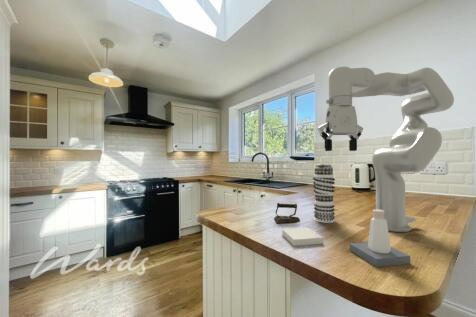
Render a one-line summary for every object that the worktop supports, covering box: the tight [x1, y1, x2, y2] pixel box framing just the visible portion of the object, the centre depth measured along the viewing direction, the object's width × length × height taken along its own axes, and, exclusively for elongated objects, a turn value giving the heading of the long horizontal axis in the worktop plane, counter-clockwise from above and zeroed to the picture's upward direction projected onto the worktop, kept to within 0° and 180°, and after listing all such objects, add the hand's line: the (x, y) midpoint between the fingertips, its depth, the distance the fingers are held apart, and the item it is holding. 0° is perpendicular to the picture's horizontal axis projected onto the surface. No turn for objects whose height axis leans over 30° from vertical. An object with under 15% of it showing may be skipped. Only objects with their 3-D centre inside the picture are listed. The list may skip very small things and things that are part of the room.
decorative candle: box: [312, 163, 336, 224], centre depth 95 cm, size 9×9×25 cm
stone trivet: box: [281, 227, 324, 247], centre depth 73 cm, size 10×10×2 cm
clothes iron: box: [273, 202, 301, 225], centre depth 94 cm, size 7×11×10 cm, turn 92°
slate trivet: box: [349, 241, 411, 268], centre depth 59 cm, size 10×10×2 cm
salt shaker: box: [367, 208, 391, 253], centre depth 59 cm, size 5×5×11 cm
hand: (340, 150), depth 76 cm, fingers open, 9 cm apart
